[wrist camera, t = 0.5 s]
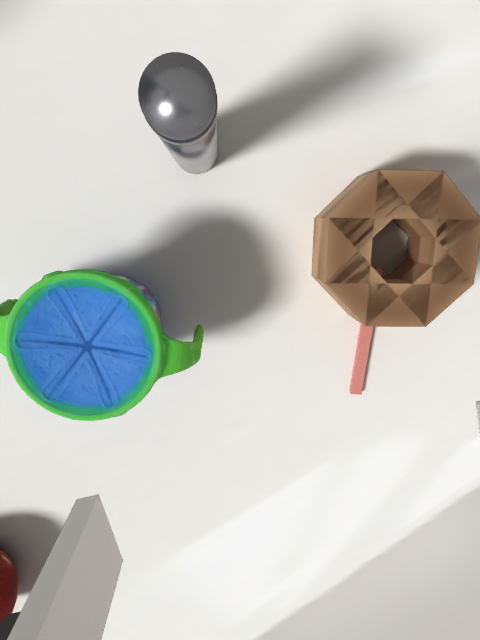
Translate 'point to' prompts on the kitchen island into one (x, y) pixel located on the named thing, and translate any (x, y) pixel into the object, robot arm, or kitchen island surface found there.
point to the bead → (422, 248)
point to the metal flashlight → (182, 109)
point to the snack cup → (89, 344)
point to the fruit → (7, 585)
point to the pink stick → (362, 355)
